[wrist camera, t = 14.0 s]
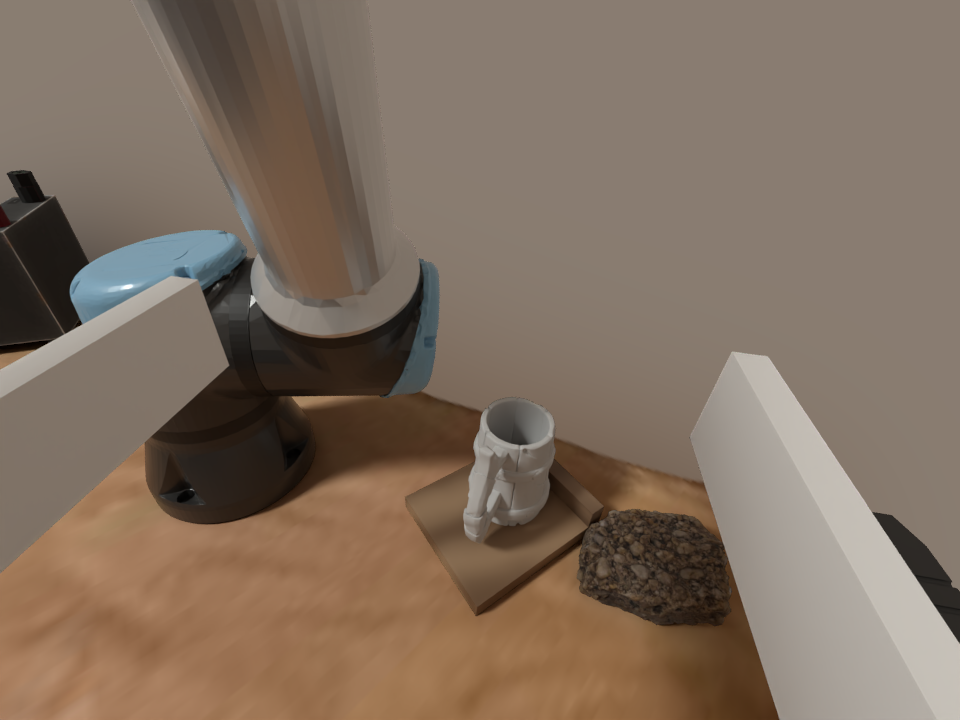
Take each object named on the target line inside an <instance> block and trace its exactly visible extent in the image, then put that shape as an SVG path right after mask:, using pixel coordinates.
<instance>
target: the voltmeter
mask: <svg viewBox="0 0 960 720" xmlns="http://www.w3.org/2000/svg"><path fill="white" fill-rule="evenodd" d="M7 175H8V177H9V179H10V180H11V182H12V184H13V187H14V188H15V190H16V192H17V194H18V197H17V196H16V197H12V198H10V199H8V200H6V201H5V202H3V203H1V204H0V346H2V345H10V344H18V343H26V342H34V341H42V340H47V341H48V342H49V343H50V342H52V341H53V340H55V339H57V338H59V337H61V336H63V335H64V334H66V333H68V332H70V331H72V330H73V328H74V327H75V325H76V324H77V322H78V321H79V320H80V318H79V316H78V313H77V311H76V309H75V307H74V305H73V303H72V300H71V297H70V286H71V283H72V281H73V279H74V277H75V276H76V275H77V274H78V272H79V271H80V270H81V269H83V268H84V267H85V266H87V265H88V264H90V263H89V261H88V259H87V257H86V255H85V253H84V251H83V249H82V248H81V245H80V243H79V241H78V239H77V238H76V236H75V234H74V232H73V230H72V228H71V226H70V224H69V222H68V220H67V218H66V216H65V214H64V212H63V210H62V208H61V206H60V204H59V202H58V200H57V199H56V196H55V195H45V196H44V194H43V193H42V191H41V189H40V187H39V185H38V183H37V182H36V180H35V179H34V176H33V174H32V172H31V171H24V170H21V171H11V172H9V173H7Z"/></svg>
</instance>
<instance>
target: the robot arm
mask: <svg viewBox="0 0 960 720" xmlns="http://www.w3.org/2000/svg"><path fill="white" fill-rule="evenodd" d="M130 1H131V3H132V5H133V7H134V8H135V10H136V12H137V14H138V16H139V18H140V20H141V22H142V24H143V26H144V28H145V30H146V32H147V34H148V36H149V38H150V40H151V42H152V44H153V46H154V48H155V50H156V52H157V54H158V56H159V58H160V60H161V61H162V64H163V66H164V68H165V70H166V72H167V73H168V76H169V77H170V79H171V81H172V83H173V85H174V87H175V89H176V91H177V93H178V95H179V97H180V99H181V101H182V103H183V105H184V107H185V109H186V111H187V113H188V115H189V117H190V119H191V121H192V123H193V125H194V127H195V129H196V131H197V133H198V135H199V137H200V139H201V141H202V143H203V144H204V146H205V148H206V150H207V152H208V154H209V156H210V158H211V160H212V162H213V164H214V166H215V168H216V170H217V172H218V174H219V176H220V178H221V180H222V182H223V184H224V186H225V188H226V190H227V192H228V194H229V196H230V198H231V200H232V202H233V204H234V205H235V208H236V209H237V211H238V213H239V215H240V217H241V219H242V221H243V223H244V225H245V227H246V229H247V231H248V233H249V235H250V237H251V239H252V241H253V243H254V245H255V247H256V249H257V251H258V254H257V256H256V258H249V257H247V256H246V253H247V249H246V247H245V246H244V245H243V244H242V242H241V240H240V239H239V238H238V237H237V236H236V235H234V234H232V233H226V232H225V231H217V230H200V231H189V232H182V233H176V234H170V235H165V236H160V237H157V238H152V239H148V240H145V241H141V242H138V243H135V244H132V245H129V246H126V247H123V248H120V249H118V250H115V251H113V252H110V253H108V254H106V255H104V256H102V257H100V258H98V259H96V260H94V261H93V262H91V263H90V264H88V265H87V266H85V267H84V268H83V269H81V270H80V271H79V272H78V274H77V275H76V276H75V277H74V279H73V281H72V283H71V286H70V297H71V300H72V303H73V305H74V307H75V309H76V311H77V313H78V316H79V318H80V320H81V322H82V324H83V325H81V326H79V327H77V328H75V329H73V330H72V331H70V332H68V333H66V334H64V335H63V336H61V337H59V338H57V339H55V340H53V341H52V342H50V343H48V344H46V345H44V346H43V347H41V348H39V349H37V350H35V351H33V352H32V353H30V354H28V355H26V356H24V357H23V358H21V359H19V360H17V361H15V362H13V363H12V364H10V365H8V366H6V367H4V368H2V369H1V370H0V573H1V572H2V571H3V570H4V569H6V568H7V567H8V566H9V565H10V564H11V563H12V562H13V561H14V560H16V559H17V558H18V557H19V556H20V555H21V554H22V553H23V552H24V551H25V550H27V549H28V548H29V547H30V546H31V545H32V544H33V543H34V542H35V541H36V540H38V539H39V538H40V537H41V536H42V535H43V534H44V533H45V532H46V531H47V530H49V529H50V528H51V527H52V526H53V525H54V524H55V523H56V522H57V521H58V520H60V519H61V518H62V517H63V516H64V515H65V514H66V513H67V512H68V511H69V510H71V509H72V508H73V507H74V506H75V505H76V504H77V503H78V502H79V501H80V500H82V499H83V498H84V497H85V496H86V495H87V494H88V493H89V492H90V491H92V490H93V489H94V488H95V487H96V486H97V485H98V484H99V483H100V482H101V481H103V480H104V479H105V478H106V477H107V476H108V475H109V474H110V473H111V472H112V471H114V470H115V469H116V468H117V467H118V466H119V465H120V464H121V463H122V462H123V461H125V460H126V459H127V458H128V457H129V456H130V455H131V454H132V453H133V452H134V451H136V450H137V449H138V448H139V447H140V446H141V445H142V444H143V443H144V442H145V471H146V481H147V485H148V488H149V490H150V492H151V493H152V495H153V496H154V498H155V500H156V501H157V503H158V504H159V506H160V507H161V508H162V509H163V510H164V511H165V512H166V513H167V514H169V515H170V516H172V517H174V518H176V519H179V520H182V521H185V522H190V523H201V524H208V523H219V522H226V521H231V520H235V519H238V518H241V517H245V516H247V515H250V514H253V513H255V512H257V511H259V510H261V509H264V508H265V507H267V506H269V505H271V504H272V503H274V502H276V501H277V500H279V499H280V498H282V497H283V496H284V495H286V494H287V493H288V492H289V491H290V490H291V489H293V488H294V487H295V486H296V485H297V484H298V483H299V481H300V480H301V479H302V478H303V476H304V475H305V474H306V472H307V471H308V469H309V467H310V465H311V463H312V461H313V458H314V454H315V438H314V434H313V430H312V426H311V423H310V421H309V419H308V417H307V416H306V414H305V413H304V412H303V411H302V409H301V408H300V407H299V406H298V404H297V403H296V402H295V401H294V400H293V398H292V397H291V396H371V395H379V396H380V397H384V398H389V397H391V396H393V395H401V394H414V393H417V392H420V391H421V390H423V389H424V388H425V387H426V386H427V384H428V382H429V380H430V377H431V374H432V369H433V364H434V358H435V349H436V341H435V339H436V336H437V329H438V319H439V275H438V270H437V268H436V267H435V265H434V264H432V263H431V262H426V261H424V260H423V259H418V256H417V252H416V250H415V247H414V245H413V244H412V242H411V240H410V239H409V238H408V237H407V236H406V235H405V234H404V233H403V232H402V231H401V230H400V229H399V228H397V227H396V226H394V221H393V212H392V204H391V196H390V187H389V179H388V170H387V162H386V153H385V144H384V135H383V127H382V118H381V111H380V102H379V93H378V84H377V76H376V67H375V59H374V50H373V42H372V34H371V25H370V16H369V8H368V0H130ZM690 440H691V444H692V447H693V450H694V453H695V456H696V459H697V462H698V465H699V469H700V472H701V475H702V478H703V481H704V484H705V487H706V491H707V494H708V497H709V500H710V503H711V506H712V509H713V513H714V516H715V519H716V522H717V525H718V528H719V531H720V534H721V538H722V541H723V544H724V547H725V550H726V553H727V556H728V560H729V563H730V566H731V569H732V572H733V575H734V578H735V581H736V585H737V588H738V591H739V594H740V597H741V600H742V603H743V607H744V610H745V613H746V616H747V619H748V622H749V625H750V628H751V632H752V635H753V638H754V641H755V644H756V647H757V650H758V654H759V657H760V660H761V663H762V666H763V669H764V672H765V676H766V679H767V682H768V685H769V688H770V691H771V694H772V697H773V701H774V704H775V707H776V710H777V713H778V716H779V719H780V720H960V591H959V590H958V589H957V588H953V587H952V585H951V582H952V581H951V579H950V578H949V576H948V575H947V574H946V572H945V571H944V570H943V568H942V567H941V566H940V564H939V563H938V561H937V560H936V559H935V557H934V556H933V555H932V553H931V552H930V551H929V549H928V548H927V546H925V545H924V544H923V543H922V542H921V541H920V540H919V539H918V538H917V537H915V536H914V535H913V534H912V533H911V532H910V531H909V530H908V529H906V528H905V527H904V526H903V525H902V524H901V523H900V522H899V521H898V520H896V519H895V518H894V517H893V516H892V515H887V514H881V513H874V512H871V510H870V509H869V507H868V506H867V504H866V503H865V501H864V500H863V498H862V497H861V495H860V494H859V492H858V491H857V489H856V488H855V486H854V485H853V483H852V482H851V481H850V479H849V478H848V476H847V474H846V473H845V471H844V470H843V468H842V467H841V465H840V464H839V462H838V461H837V459H836V458H835V456H834V455H833V453H832V452H831V450H830V449H829V448H828V446H827V444H826V443H825V441H824V440H823V438H822V437H821V436H820V434H819V432H818V431H817V429H816V428H815V427H814V425H813V423H812V422H811V420H810V419H809V417H808V416H807V414H806V413H805V412H804V410H803V409H802V407H801V406H800V404H799V403H798V401H797V400H796V398H795V396H794V395H793V393H792V392H791V390H790V389H789V388H788V386H787V385H786V383H785V382H784V380H783V378H782V377H781V376H780V374H779V372H778V371H777V369H776V368H775V367H774V365H773V363H772V362H771V360H770V359H769V357H767V356H760V355H753V354H745V353H738V352H732V353H731V355H730V357H729V359H728V361H727V363H726V365H725V367H724V369H723V371H722V373H721V375H720V377H719V379H718V381H717V383H716V385H715V387H714V389H713V391H712V393H711V395H710V397H709V399H708V401H707V403H706V405H705V407H704V410H703V411H702V414H701V415H700V417H699V419H698V421H697V423H696V425H695V427H694V429H693V431H692V433H691V435H690Z"/></svg>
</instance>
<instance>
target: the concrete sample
mask: <svg viewBox="0 0 960 720" xmlns="http://www.w3.org/2000/svg"><path fill="white" fill-rule="evenodd" d="M724 549H725V547H724V544H723V543H722V542H720V540H719V539H717V538H716V537H715V535H713V534H711V533H710V532H709V531H708V530H707V529H706V528H705V527H704V526H703V525H702V523H701V522H700V521H699V520H698V519H696V518H695V517H693V516H687V515H680V514H672V513H660V512H657V511H653V512H649V511H646V510H643V511H642V510H640V509H631V510H626V511H616V510H613V511H609V512H608V516H607V517H606V518H604V519H603V520H601V521H599V523H593V524H591V526H590V527H589V529H588V530H586V532H585V535H584V537H583V540H582V548H581V550H580V555H579V564H580V569H579V570H578V574H577V579H578V580H580V582H581V583H580V587H579V589H580V592H581V593H583V594H585V595H587V596H589V597H591V596H592V597H593V598H594V599H595V600H598V601H600V602H601V603H602V604H606V605H611V606H617V607H619V608H621V609H622V610H624V611H628V612H631V613H633V614H635V615H637V616H639V617H641V618H643V619H644V620H650V621H652V622H653V623H655V624H656V625H664V624H673V623H674V622H676V623H677V624H679V623H686V624H690V625H696V624H697V623H709V624H712V625H713V626H718V625H722V623H723V622H724V617H726V616H727V615H728V614H729V613H730V612H731V608H730V606H729V602H728V600H729V598H730V596H731V592H732V591H731V587H729V583H728V579H729V576H727V574H726V572H725V565H726V564H727V560H728V558H727V557H726V556H725V555H724V554H725V552H724V551H723V550H724Z"/></svg>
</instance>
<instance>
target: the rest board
mask: <svg viewBox="0 0 960 720" xmlns="http://www.w3.org/2000/svg"><path fill="white" fill-rule="evenodd" d="M474 464H475V462H473V463H471V464H469V465H467V466H465V467H463V468H461V469H459V470H457V471H455V472H453V473H451V474H449V475H448V476H446V477H444V478H442V479H440V480H438V481H436V482H434V483H432V484H430V485H428V486H426V487H424V488H422V489H420V490H418V491H416V492H414V493H412V494H410V495H408V496H406V497H405V500H406V507H407V509H408V511H409V512H410V514H411V515H412V517H413V518H414V520H415V521H416V523H417V525H418V526H419V528H420V529H421V531H422V532H423V534H424V536H425V537H426V539H427V540H428V542H429V543H430V545H431V546H432V548H433V550H434V551H435V553H436V554H437V556H438V557H439V559H440V561H441V562H442V564H443V565H444V567H445V568H446V570H447V572H448V573H449V575H450V576H451V578H452V579H453V581H454V582H455V584H456V586H457V587H458V589H459V590H460V592H461V593H462V595H463V597H464V598H465V600H466V601H467V603H468V604H469V606H470V608H471V609H472V611H473V612H474V614H475V615H476V616H477V615H478V614H480V613H481V612H482V611H484V610H485V609H486V608H488V607H489V606H491V605H492V604H493V603H495V602H496V601H497V600H499V599H500V598H501V597H503V596H504V595H506V594H507V593H508V592H510V591H511V590H512V589H514V588H515V587H517V586H518V585H519V584H521V583H522V582H523V581H525V580H526V579H527V578H529V577H530V576H532V575H533V574H534V573H536V572H537V571H538V570H540V569H541V568H543V567H544V566H545V565H547V564H548V563H549V562H551V561H552V560H553V559H555V558H556V557H558V556H559V555H560V554H562V553H563V552H564V551H566V550H567V549H569V548H570V547H571V546H573V545H574V544H575V543H577V542H578V541H579V540H581V539H582V538H583V537H584V535H585V532H586V530H588V529H589V527H590V526H591V524H593V523H598V521H599V519H600V516H601V513H602V510H603V508H604V506H603V505H602V504H601V503H600V502H599V501H598V500H597V499H596V498H595V497H594V496H593V495H592V494H591V493H589V492H588V491H587V490H586V489H585V488H584V487H583V486H582V485H581V484H580V483H579V482H578V481H577V480H576V479H575V478H574V477H573V476H572V475H570V474H569V473H568V472H567V471H566V470H565V469H564V468H563V467H562V466H561V465H560V464H559V463H558V462H557V461H556V460H555V459H554V460H553V463H552V466H551V468H549V473H548V479H549V483H550V489H549V495H548V499H547V501H546V503H545V505H544V507H543V508H542V509H541V510H540V512H539V513H538V514H537V516H536V517H535V518H534V519H532V520H531V521H529V522H527V523H525V524H522V525H520V524H519V523H517V524H516V526H509V524H508V525H507V526H504V525H499V524H496V523H494V522H492V521H491V523H490V525H489V528H488V531H487V533H486V535H485V537H484V539H483V540H482V542H481V543H480V544H479V543H476V542H474V541H472V540H470V539H469V538H468V537H467V536H466V534H465V529H464V520H463V514H464V509H465V508H467V504H468V500H469V497H468V493H469V490H470V489H469V481H468V479H469V476H470V473H471V470H472V468H473V466H474Z"/></svg>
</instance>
